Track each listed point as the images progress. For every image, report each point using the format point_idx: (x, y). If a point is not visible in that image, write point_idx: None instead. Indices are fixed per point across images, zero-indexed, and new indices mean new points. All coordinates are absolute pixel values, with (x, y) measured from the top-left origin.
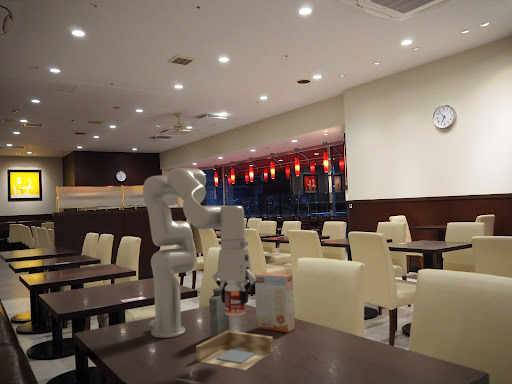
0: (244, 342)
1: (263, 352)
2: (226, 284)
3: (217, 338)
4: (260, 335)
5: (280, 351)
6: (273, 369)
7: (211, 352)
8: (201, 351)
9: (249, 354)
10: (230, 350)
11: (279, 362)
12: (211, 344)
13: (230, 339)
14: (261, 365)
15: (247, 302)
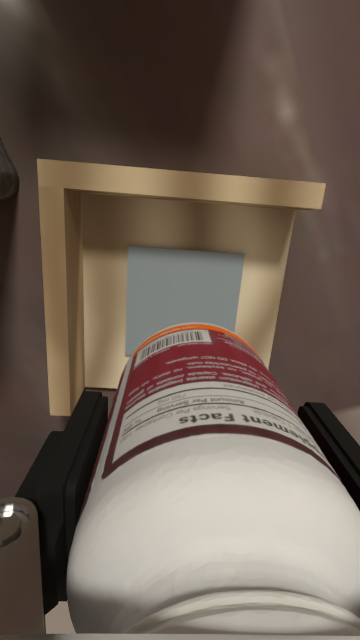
0: (165, 198)
1: (265, 226)
2: (25, 587)
3: (67, 293)
4: (256, 185)
5: (321, 164)
6: (340, 344)
7: (81, 327)
8: (76, 396)
9: (226, 280)
10: (131, 265)
11: (345, 282)
12: (72, 336)
13: (84, 191)
14: (291, 328)
15: (320, 404)
